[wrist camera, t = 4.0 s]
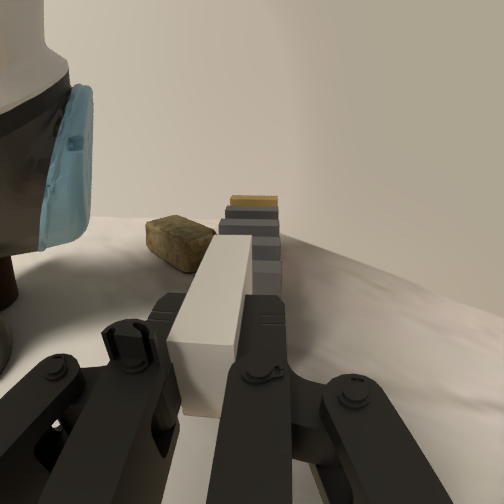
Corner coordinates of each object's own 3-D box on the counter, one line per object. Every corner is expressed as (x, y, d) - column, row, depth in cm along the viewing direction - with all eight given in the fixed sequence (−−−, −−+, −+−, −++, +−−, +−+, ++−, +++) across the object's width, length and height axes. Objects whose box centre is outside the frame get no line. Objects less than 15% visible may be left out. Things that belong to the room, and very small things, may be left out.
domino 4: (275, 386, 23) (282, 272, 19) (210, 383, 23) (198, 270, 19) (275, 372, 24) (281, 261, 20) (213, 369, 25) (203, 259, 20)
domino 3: (275, 324, 30) (279, 226, 26) (223, 322, 30) (218, 225, 26) (275, 315, 32) (279, 219, 27) (225, 313, 32) (221, 218, 28)
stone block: (188, 279, 39) (184, 241, 36) (145, 252, 46) (140, 220, 44) (224, 264, 42) (222, 228, 40) (176, 241, 50) (173, 211, 48)
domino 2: (275, 301, 34) (278, 211, 30) (228, 300, 34) (225, 210, 30) (275, 293, 35) (278, 206, 31) (230, 292, 36) (227, 205, 31)
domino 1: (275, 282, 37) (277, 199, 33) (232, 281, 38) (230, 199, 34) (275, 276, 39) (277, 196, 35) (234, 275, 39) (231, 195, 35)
